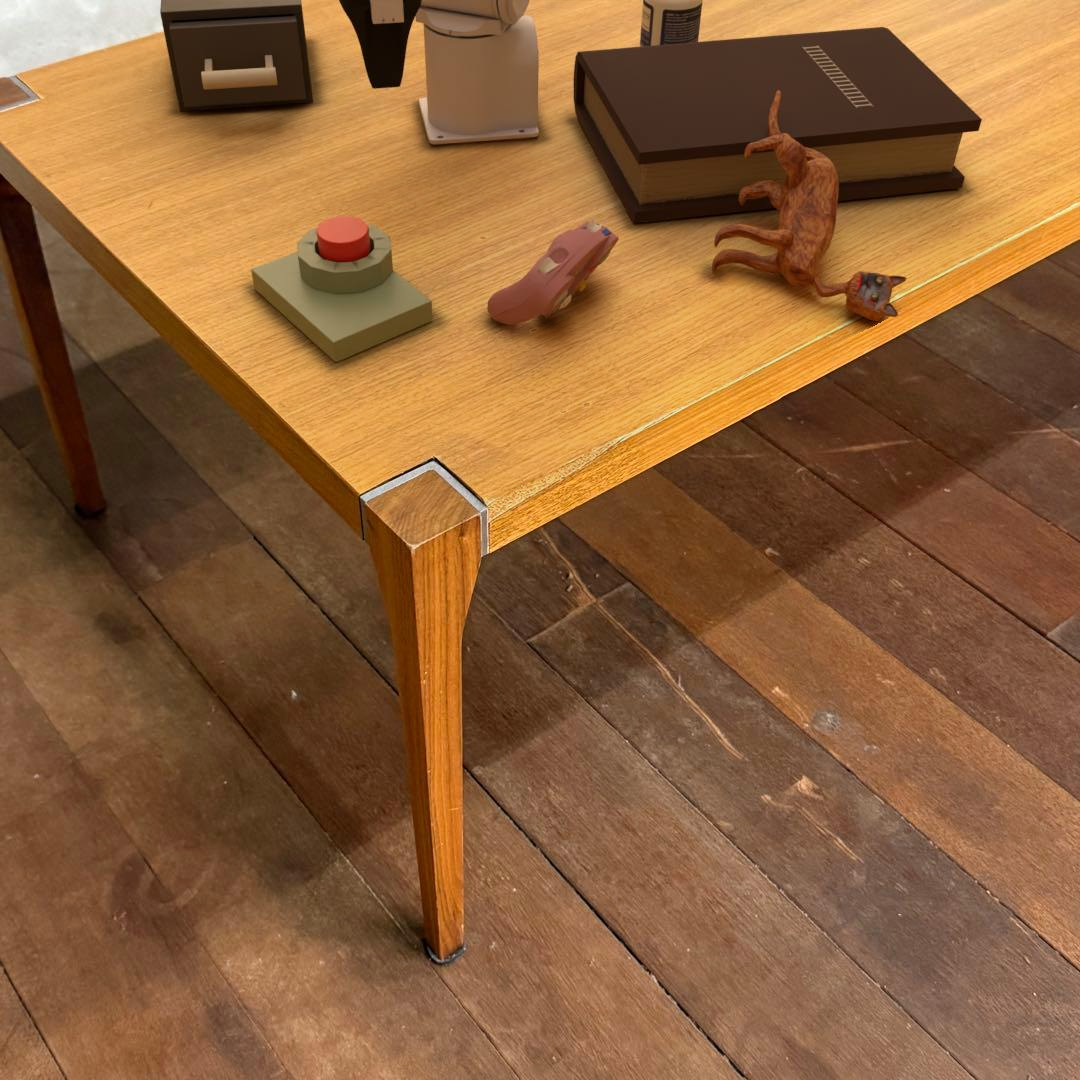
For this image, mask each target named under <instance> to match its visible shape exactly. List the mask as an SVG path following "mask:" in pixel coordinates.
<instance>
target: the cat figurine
mask: <svg viewBox="0 0 1080 1080" xmlns="http://www.w3.org/2000/svg"><path fill="white" fill-rule="evenodd" d="M781 95H782V94H781V91H777V92H776V94H775V97H774V100H773V103H772V105H771V108H770V111H769V115H768V120H767V130H768V135H769V137H768V138H765V139H762V140H760V141H757V142H752V143H750V144H748V145H747V147H746V149H745V153H744V157H745V158H748V157H750V155H751V153H752V152H753V151H763V150H768V149H773V150H775V153H776V155H777V158H778V161H779V163H780V164H781V165H782V167H783V168H784V169H785V171H786V173H787V175H786V177H785V179H784V182H783V184H782V187H781V186H780V184H779V183H778V182H777V181H774V180H765V181H759V182H756V183H754V184H752V185H750V186H747V187H744V188H742V189H741V191H740V194H739V203H740V204H741V205H743V204H744V202H745V201H746V199H756V198H761V197H765V196H768V197H769V199H770V201H771V203H772V205H773V206H774V207H775V208H774V209H776V210H777V211H779V219H778V220H779V221H778V229H775V230H766V229H762V228H759V227H756V226H752V225H748V224H742V223H729V224H725V225H723V226H722V227H721V228H720V229H719V230H718V231H717V233H716V234H715V237H714V248H717V247H718V245H719V244H720V242H722V241H723V240H726V239H732V238H744V239H748V240H750V241H753V242H755V243H758V244H760V245H764V246H768V247H772V248H775V249H777V250H776V251H777V253H774V254H770V255H767V254H766V255H761V254H758V253H755V252H751V251H747V250H743V249H737V248H724V249H723V250H720V251H719V252H718V253H717V254H716V255H715V256H714V258H713V259H712V265H711V273H712V274H715V272H716V270H717V269H718V268H719V267H720V266H726V265H732V264H738V265H739V264H740V265H742V266H743V265H744V266H746V267H748V268H750V269H752V270H755V271H758V272H762V273H765V274H772V275H781V274H782V275H783V277H784V278H785V280H786V281H787V282H788V283H789V284H790V285H792V286H793V287H797V288H804V287H809V286H810V287H813V288H814V289H815V291H816V293H817V295H818V296H819V297H820V298H825V299H826V298H831V297H834V296H837V295H841V294H844V295H845V296H846V297H845V306H846V309H847V310H848V311H849V312H850V313H853V314H856V315H859V316H861V317H863V318H865V319H868V320H870V321H873V322H879V320H881V318H883V317H884V316H888V317H891V318H897V317H898V316H899V313H898V311H897V309H896V308H895V307H894V306H893V304H892V303H891V298H892V292H893V289H895V288H896V287H897V286H899V285H901V284H903V283H905V282H906V281H907V277H905V276H903V275H888V274H887V275H886V274H882V273H879V272H870V271H863V270H859V271H857V272H856V273H854V275H853V276H852V277H850V280H848V281H846V282H836V283H830V284H823V282H822V279H821V278H820V274H819V269H818V263H820V261H821V259H823V257H824V256H825V255H826V254H827V252H828V250H829V248H830V246H831V244H832V240H833V237H834V233H835V230H836V221H837V212H838V202H839V201H838V192H839V181H838V175H837V172H836V169H835V167H834V165H833V163H832V161H831V160H830V159H829V158H827V157H826V156H825V155H823V154H822V153H820V152H818V151H816V150H814V149H810V148H807V147H804V146H803V145H801V144H800V143H799V142H797V141H796V140H794V139H793V138H792V137H791V136H790V135H789V134H787V133H781V132H780V130H779V127H778V120H777V115H778V110H779V107H780V102H781Z"/></svg>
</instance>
